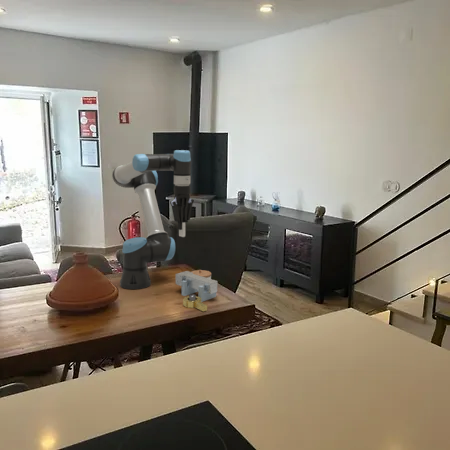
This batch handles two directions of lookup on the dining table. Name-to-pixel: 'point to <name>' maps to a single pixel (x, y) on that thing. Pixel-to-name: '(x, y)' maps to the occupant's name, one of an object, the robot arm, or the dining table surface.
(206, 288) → the white t-shaped plate
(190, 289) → the rack
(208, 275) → the lidded jar
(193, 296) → the nut base
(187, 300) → the gold box wrench
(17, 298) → the dining table surface
